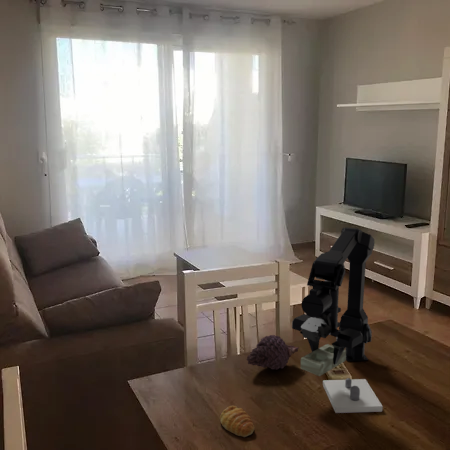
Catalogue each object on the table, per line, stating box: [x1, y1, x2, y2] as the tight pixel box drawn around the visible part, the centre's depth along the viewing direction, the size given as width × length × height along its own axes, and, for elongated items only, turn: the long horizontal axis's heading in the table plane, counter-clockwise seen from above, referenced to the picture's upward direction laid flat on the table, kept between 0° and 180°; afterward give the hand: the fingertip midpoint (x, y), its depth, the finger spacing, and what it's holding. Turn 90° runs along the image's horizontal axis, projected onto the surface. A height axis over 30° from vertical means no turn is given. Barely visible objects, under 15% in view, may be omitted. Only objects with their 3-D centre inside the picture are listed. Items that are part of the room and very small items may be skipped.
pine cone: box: [246, 334, 300, 370], centre depth 154 cm, size 18×10×10 cm, turn 120°
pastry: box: [219, 405, 255, 438], centre depth 125 cm, size 9×7×4 cm
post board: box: [322, 377, 384, 414], centre depth 138 cm, size 14×12×5 cm
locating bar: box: [300, 343, 347, 377], centre depth 138 cm, size 12×6×3 cm, turn 135°
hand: (325, 360), depth 139 cm, fingers closed on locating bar, 6 cm apart
